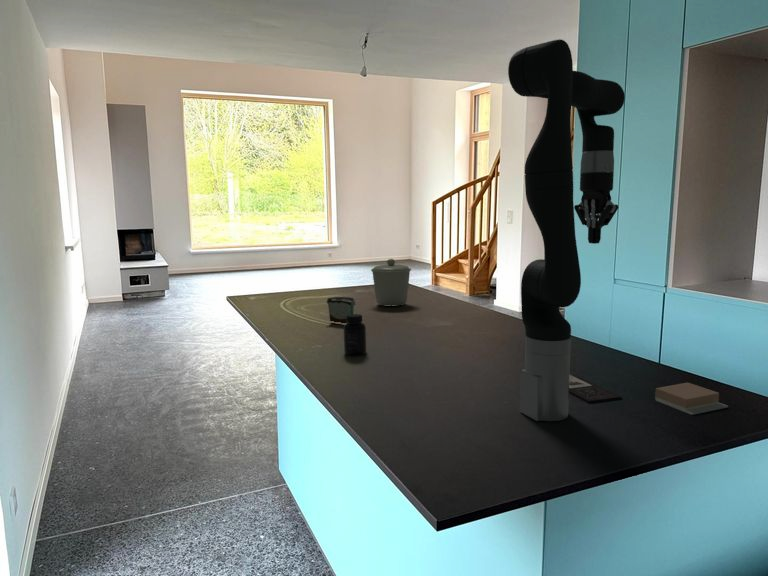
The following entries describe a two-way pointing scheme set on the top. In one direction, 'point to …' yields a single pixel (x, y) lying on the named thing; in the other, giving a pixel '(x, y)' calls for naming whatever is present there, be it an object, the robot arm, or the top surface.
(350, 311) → the food container
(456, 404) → the top surface
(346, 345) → the supplement bottle
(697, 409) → the mat
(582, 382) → the chocolate bar
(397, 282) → the canister
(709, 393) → the tile
